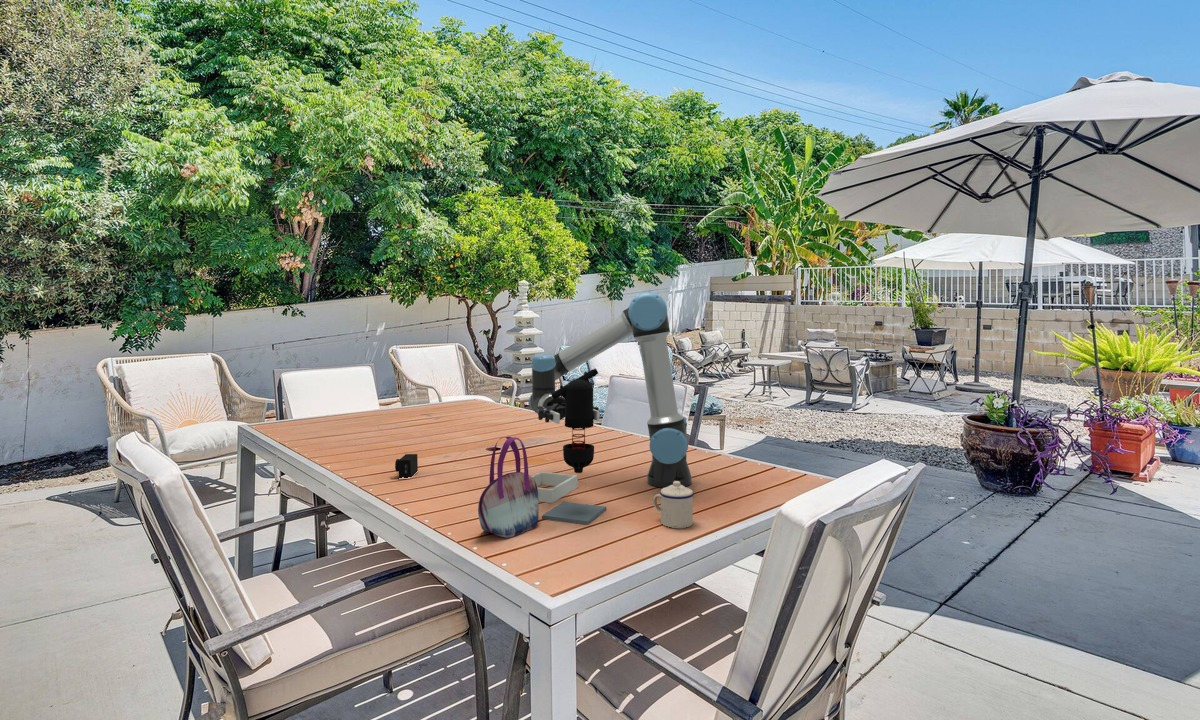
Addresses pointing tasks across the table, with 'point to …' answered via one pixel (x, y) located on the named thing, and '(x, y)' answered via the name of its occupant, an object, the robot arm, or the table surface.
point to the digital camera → (407, 465)
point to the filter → (578, 419)
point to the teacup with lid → (675, 506)
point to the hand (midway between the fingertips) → (578, 417)
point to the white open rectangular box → (560, 482)
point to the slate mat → (574, 513)
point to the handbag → (509, 497)
